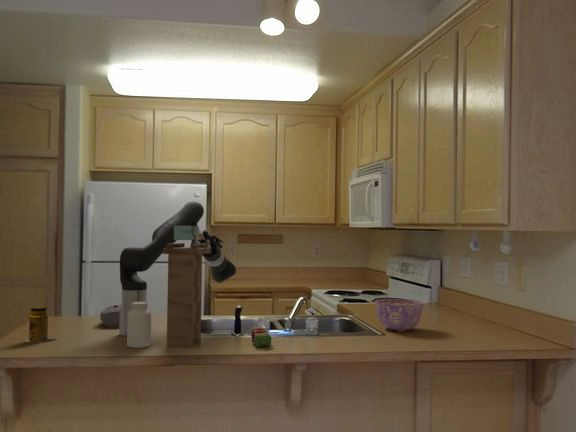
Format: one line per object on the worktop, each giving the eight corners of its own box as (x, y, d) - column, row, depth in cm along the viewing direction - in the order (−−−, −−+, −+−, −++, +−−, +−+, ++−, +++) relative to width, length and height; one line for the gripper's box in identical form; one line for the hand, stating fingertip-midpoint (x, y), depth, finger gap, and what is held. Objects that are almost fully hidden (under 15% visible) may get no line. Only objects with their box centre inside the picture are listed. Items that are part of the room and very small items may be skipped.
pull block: (197, 239, 211) (197, 226, 212) (211, 239, 210) (212, 226, 210) (173, 239, 190) (174, 225, 190) (189, 240, 189) (190, 225, 189)
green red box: (248, 338, 205) (249, 325, 205) (265, 338, 206) (266, 325, 206) (254, 350, 185) (254, 336, 185) (273, 350, 186) (273, 335, 186)
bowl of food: (392, 335, 214) (393, 306, 214) (365, 327, 232) (365, 299, 232) (433, 332, 222) (434, 303, 222) (404, 324, 240) (404, 297, 240)
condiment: (23, 342, 193) (24, 308, 193) (42, 337, 201) (42, 305, 201) (38, 343, 190) (39, 309, 191) (57, 339, 198) (58, 306, 198)
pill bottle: (128, 349, 184) (129, 304, 184) (125, 344, 191) (126, 301, 191) (152, 347, 187) (153, 303, 187) (148, 342, 194) (149, 300, 195)
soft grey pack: (136, 327, 224) (138, 319, 243) (136, 307, 224) (139, 301, 244) (97, 328, 221) (103, 320, 240) (98, 308, 221) (103, 301, 240)
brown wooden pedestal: (176, 339, 201) (178, 242, 202) (209, 340, 199) (211, 243, 200) (161, 346, 189) (163, 243, 190) (196, 348, 186) (198, 244, 187)
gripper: (198, 245, 223) (184, 223, 209) (230, 245, 220) (218, 223, 206) (194, 261, 219) (179, 240, 205) (227, 262, 216) (215, 241, 202)
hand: (199, 232), depth 205 cm, fingers closed on pull block, 3 cm apart
